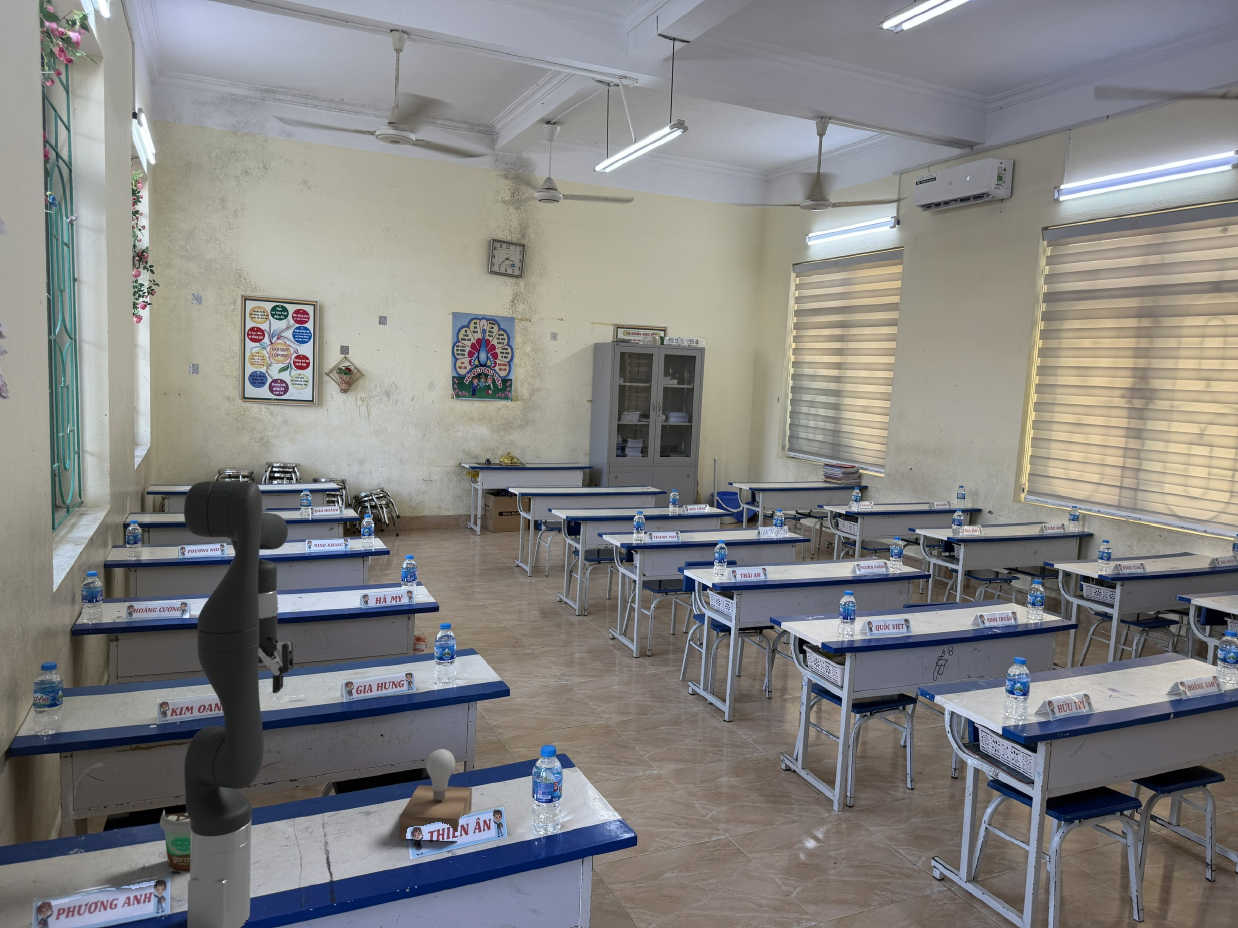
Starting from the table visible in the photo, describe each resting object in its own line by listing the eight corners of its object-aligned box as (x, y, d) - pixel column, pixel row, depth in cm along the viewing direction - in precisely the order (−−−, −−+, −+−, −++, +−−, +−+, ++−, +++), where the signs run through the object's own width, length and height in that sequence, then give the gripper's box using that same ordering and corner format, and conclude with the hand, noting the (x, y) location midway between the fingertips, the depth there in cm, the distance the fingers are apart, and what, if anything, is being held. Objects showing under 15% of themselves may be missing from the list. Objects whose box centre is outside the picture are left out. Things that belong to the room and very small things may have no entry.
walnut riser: (457, 842, 162) (457, 818, 162) (399, 839, 163) (399, 815, 163) (471, 809, 176) (471, 787, 176) (418, 806, 177) (418, 785, 176)
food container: (150, 878, 146) (151, 825, 145) (160, 860, 152) (160, 809, 151) (223, 870, 149) (224, 819, 149) (230, 853, 155) (231, 803, 155)
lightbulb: (422, 795, 172) (425, 745, 171) (451, 792, 174) (453, 743, 173) (426, 808, 166) (428, 757, 165) (455, 805, 168) (457, 754, 168)
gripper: (213, 615, 157) (211, 695, 157) (283, 618, 156) (282, 698, 157) (232, 606, 164) (231, 683, 165) (300, 609, 164) (298, 686, 165)
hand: (256, 690), depth 161 cm, fingers open, 8 cm apart
